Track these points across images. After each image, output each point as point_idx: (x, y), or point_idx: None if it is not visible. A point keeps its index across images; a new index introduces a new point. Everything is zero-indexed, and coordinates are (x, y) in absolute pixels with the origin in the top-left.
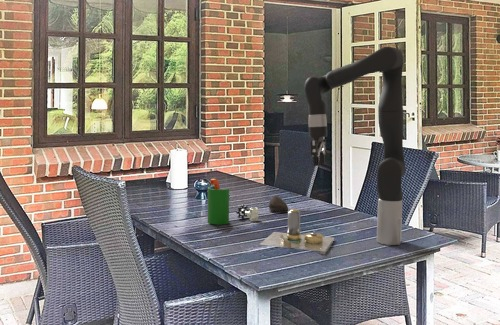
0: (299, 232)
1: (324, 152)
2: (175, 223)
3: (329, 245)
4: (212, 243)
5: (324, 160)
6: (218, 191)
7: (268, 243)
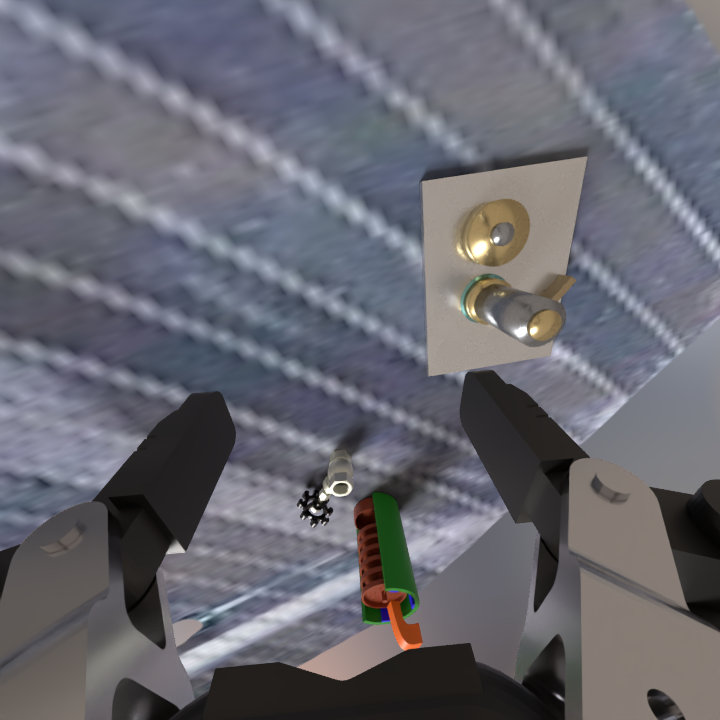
0: (500, 284)
1: (70, 560)
2: (420, 551)
3: (505, 169)
4: None
5: (190, 417)
6: (415, 589)
7: None
